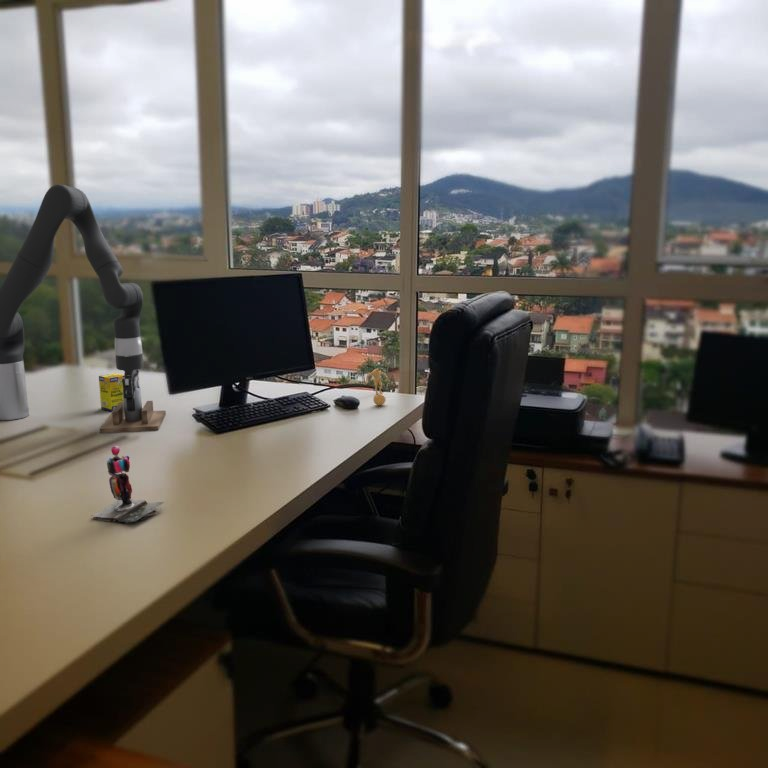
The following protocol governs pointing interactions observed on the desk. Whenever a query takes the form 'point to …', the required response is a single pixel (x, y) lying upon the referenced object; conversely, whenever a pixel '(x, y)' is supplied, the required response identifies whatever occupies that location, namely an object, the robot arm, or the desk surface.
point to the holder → (119, 424)
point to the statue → (123, 494)
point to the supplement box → (111, 391)
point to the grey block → (135, 414)
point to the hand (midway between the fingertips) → (133, 408)
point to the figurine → (379, 397)
